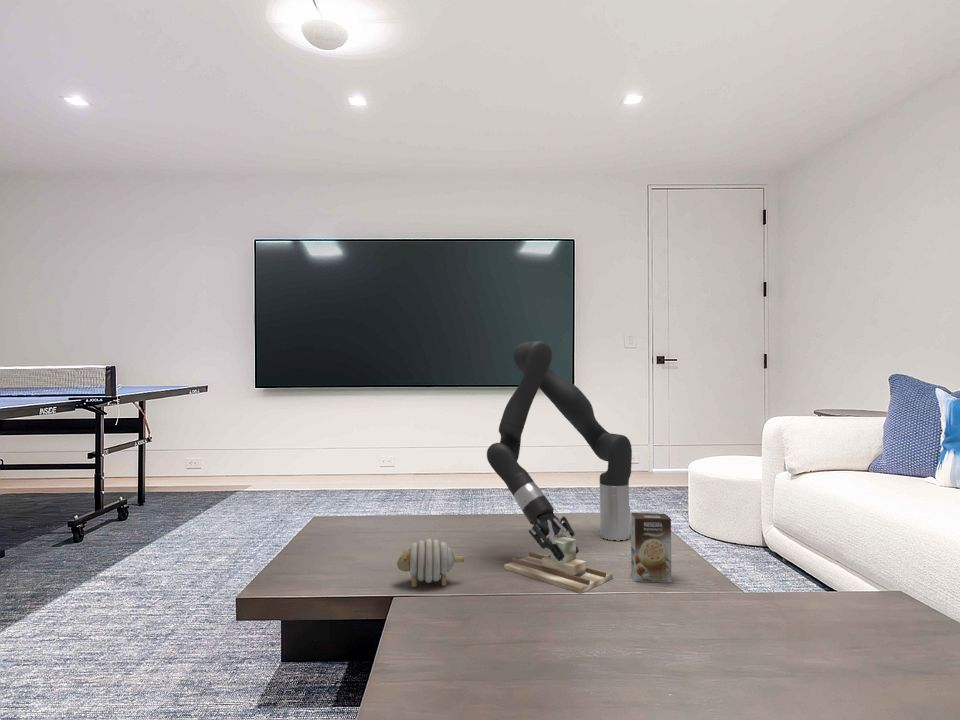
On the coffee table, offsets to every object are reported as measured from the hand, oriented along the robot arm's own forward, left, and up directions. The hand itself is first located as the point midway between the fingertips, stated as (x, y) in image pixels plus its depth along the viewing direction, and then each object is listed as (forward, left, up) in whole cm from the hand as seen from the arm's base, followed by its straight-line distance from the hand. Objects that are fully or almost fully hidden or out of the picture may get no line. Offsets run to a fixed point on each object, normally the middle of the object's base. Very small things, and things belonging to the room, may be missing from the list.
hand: (569, 556), depth 148 cm
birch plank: (0, -4, -5) cm, 7 cm away
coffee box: (-14, +16, -6) cm, 22 cm away
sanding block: (0, -2, -4) cm, 5 cm away
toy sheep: (+28, -22, -6) cm, 36 cm away
